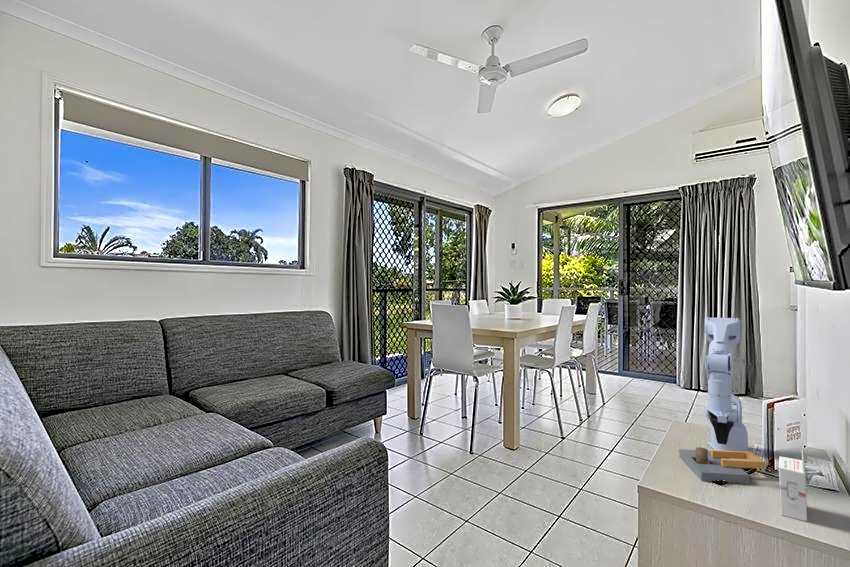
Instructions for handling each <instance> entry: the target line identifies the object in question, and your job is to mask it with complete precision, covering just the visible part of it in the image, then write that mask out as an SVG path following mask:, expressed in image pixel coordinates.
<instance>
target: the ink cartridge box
mask: <svg viewBox="0 0 850 567" xmlns="http://www.w3.org/2000/svg"><path fill="white" fill-rule="evenodd" d="M801 458H802V459H797V458H791V457H786V456H779V458H778V475H779V476H778V478H779V493H780V494H779V496H780V515H781V516H784V517H788V518H792V519H795V520H799V521H803V522H808V508H807V507H808V504H807V497H808V496H807V475H806V474H807V473H806V465H805V455H804V450H803V449H801Z"/></svg>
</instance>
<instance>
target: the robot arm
mask: <svg viewBox="0 0 850 567" xmlns="http://www.w3.org/2000/svg"><path fill="white" fill-rule="evenodd" d="M704 332H705V337H706V339H707V342H709V344H708V352H707V354H706V355H705V359H704V367H705V372H706V378H707V396H706V398H705V399H706V401H705V417H706V418H707V419H708V420H709V422H710V429H711V431H710V435H711V437H710V438H711V441H706V444H707V445H708V446H709V447H710V448H712V450H727V451H748V452H749V437H748V430H747V428H746V426H745V424H744V423H743V406H742V401H741V399H740V398H739V397H738V396H737V395H735V394H733V393H732V374H733V369H734V368H733V365H734V364H733V357H732V349H733V347H734V345H738V344H740V340H741V319H740V318H739V317H736V318H735V317H733V318H732V317H709V316H706V317H705V318H704Z"/></svg>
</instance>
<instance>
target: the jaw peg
mask: <svg viewBox="0 0 850 567" xmlns="http://www.w3.org/2000/svg"><path fill="white" fill-rule="evenodd" d="M695 450H696V463H697V464H708V451H709V450H708V449H707V448H705V447H700V446H698V447H695Z"/></svg>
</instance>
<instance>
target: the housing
mask: <svg viewBox="0 0 850 567" xmlns="http://www.w3.org/2000/svg"><path fill="white" fill-rule="evenodd" d="M678 452H679V454H678V456H679V458H680V459H681V460H682V462H683V463H684V464H686V466H687V467H688V468H689V469H690V470H691V471H692V472H693V473H694V474H695V476H696V477H697V479H698V478H699V480H700V481H701V482H711V483H712V481H716V480H725V481H727V482H728V484H741V485H742V484H743V485H744V484H745V485H750V474H748V473H747V472H746V471H745V470H744V468H738V467H723V466H722V465H721V458H713V457H712V456H711V450H708V464H697V463H696V449H678ZM724 459H730V458H724Z"/></svg>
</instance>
